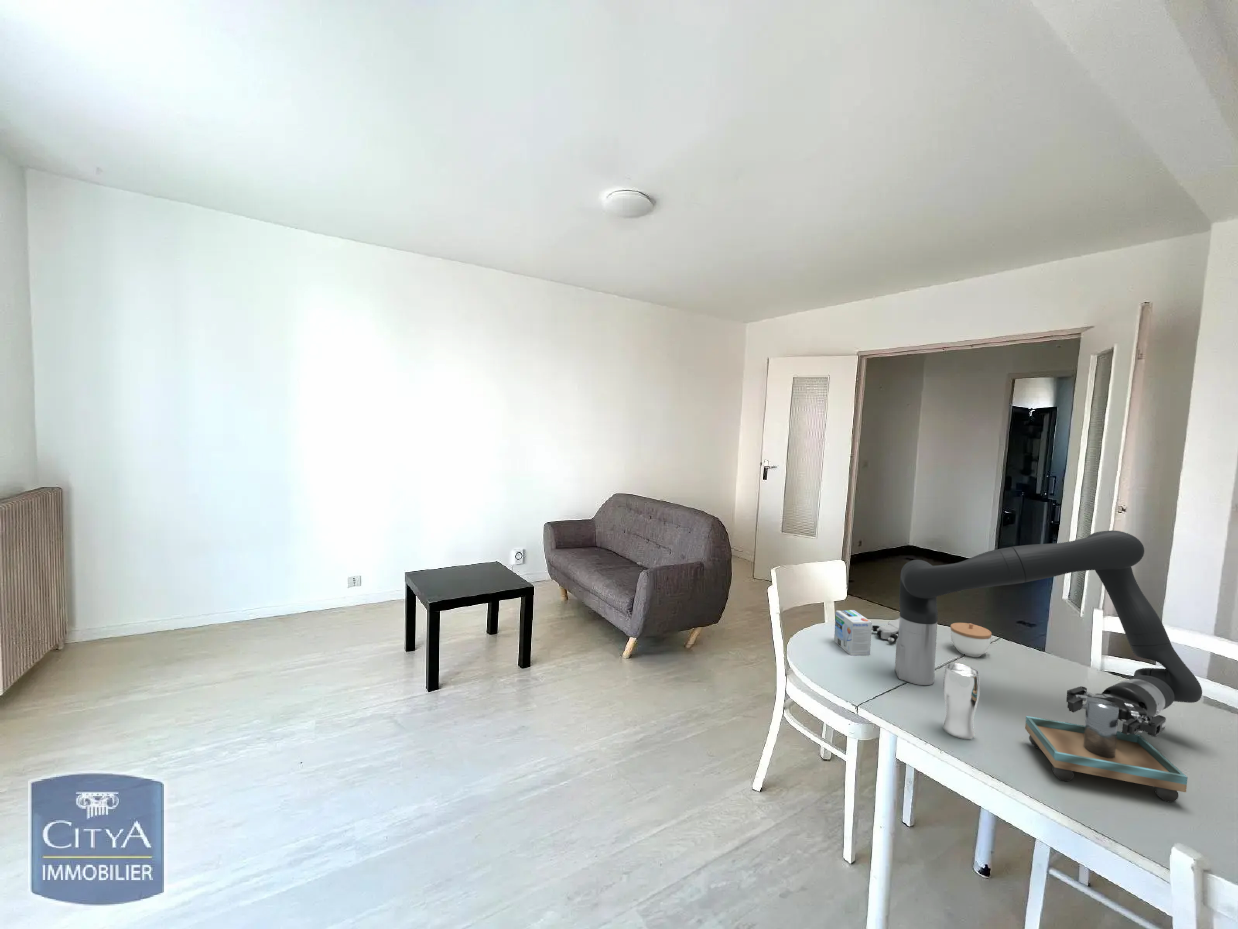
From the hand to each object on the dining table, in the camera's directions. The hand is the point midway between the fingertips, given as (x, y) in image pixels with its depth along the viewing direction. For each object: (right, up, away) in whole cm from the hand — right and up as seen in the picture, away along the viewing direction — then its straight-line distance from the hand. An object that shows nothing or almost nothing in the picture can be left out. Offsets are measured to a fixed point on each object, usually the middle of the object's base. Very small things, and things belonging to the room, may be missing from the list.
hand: (1097, 717), depth 103 cm
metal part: (+2, -7, +1) cm, 8 cm away
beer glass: (-18, -11, +15) cm, 26 cm away
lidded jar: (+14, -8, +58) cm, 60 cm away
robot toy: (-3, -8, +69) cm, 69 cm away
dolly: (+2, -12, +2) cm, 12 cm away
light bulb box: (-22, -8, +60) cm, 64 cm away
